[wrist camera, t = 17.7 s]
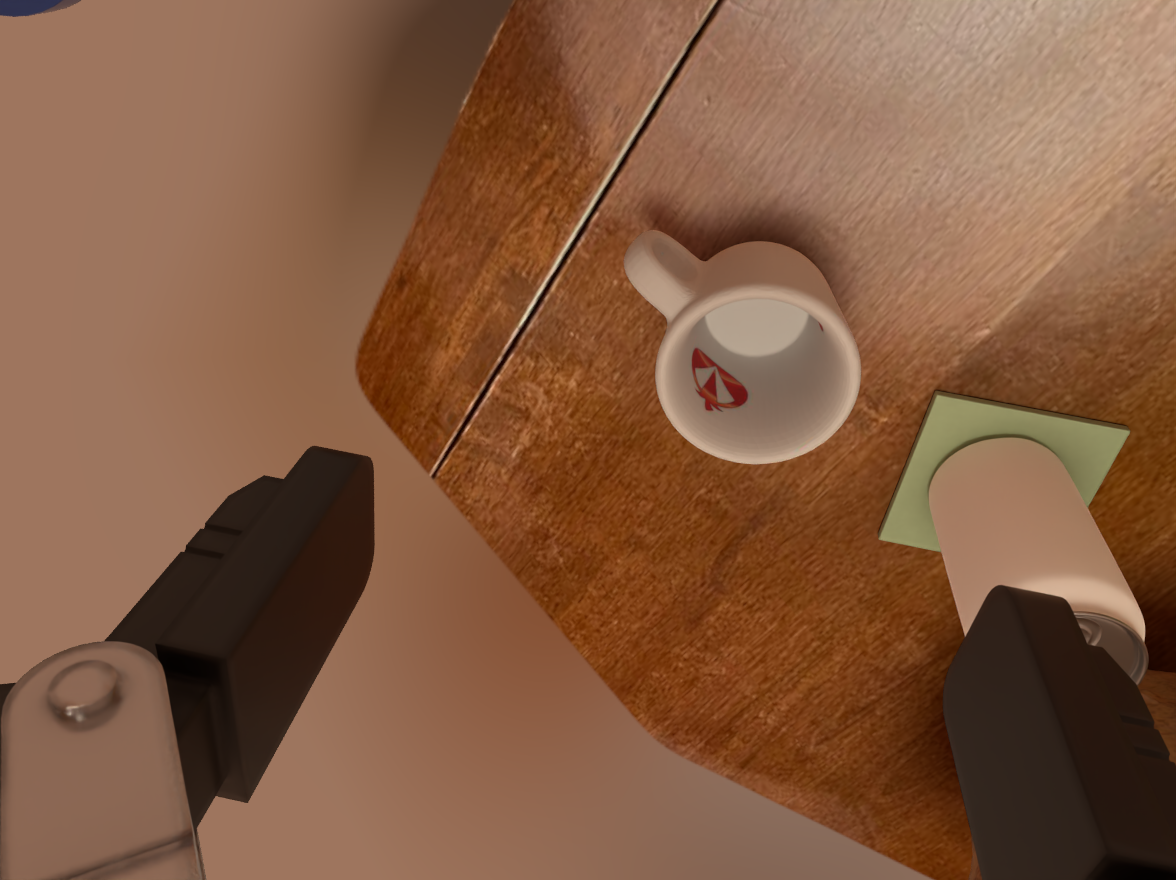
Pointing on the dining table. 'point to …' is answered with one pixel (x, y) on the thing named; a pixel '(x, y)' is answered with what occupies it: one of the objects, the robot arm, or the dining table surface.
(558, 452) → the dining table surface
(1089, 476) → the mat
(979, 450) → the can
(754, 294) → the cup
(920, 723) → the dining table surface
